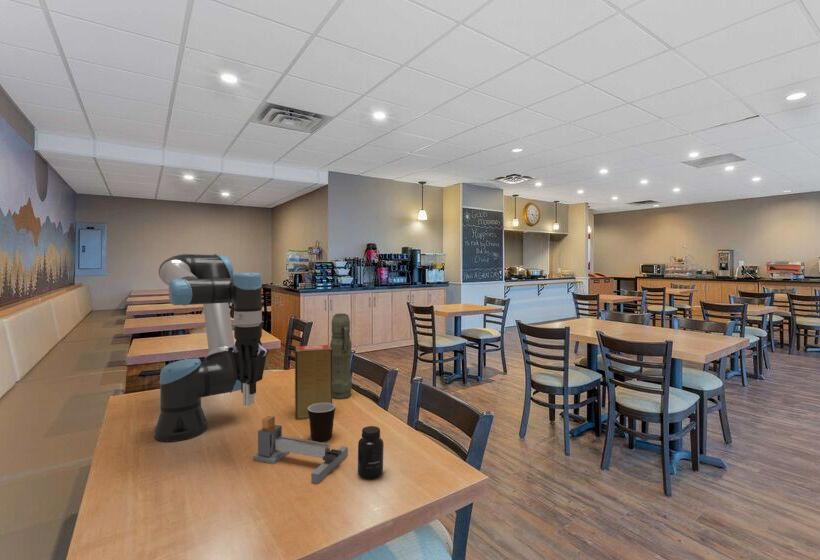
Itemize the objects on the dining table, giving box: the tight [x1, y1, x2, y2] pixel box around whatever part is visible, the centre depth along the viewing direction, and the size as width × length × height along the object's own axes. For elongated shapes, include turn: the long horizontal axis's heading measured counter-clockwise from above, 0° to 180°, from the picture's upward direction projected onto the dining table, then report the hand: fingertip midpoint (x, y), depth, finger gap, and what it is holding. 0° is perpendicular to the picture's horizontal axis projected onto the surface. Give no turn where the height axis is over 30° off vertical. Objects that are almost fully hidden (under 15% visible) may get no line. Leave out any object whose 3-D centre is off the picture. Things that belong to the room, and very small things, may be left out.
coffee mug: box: [308, 403, 336, 443], centre depth 128 cm, size 12×9×10 cm
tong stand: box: [252, 434, 349, 485], centre depth 111 cm, size 24×16×7 cm, turn 71°
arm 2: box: [279, 434, 342, 457], centre depth 111 cm, size 19×2×3 cm, turn 71°
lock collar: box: [257, 415, 283, 457], centre depth 114 cm, size 4×5×10 cm
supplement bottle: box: [357, 425, 385, 480], centre depth 105 cm, size 7×7×12 cm
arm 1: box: [275, 438, 336, 462], centre depth 109 cm, size 19×2×3 cm, turn 72°
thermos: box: [329, 313, 352, 400], centre depth 167 cm, size 9×12×35 cm
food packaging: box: [294, 344, 333, 420], centre depth 147 cm, size 13×9×25 cm
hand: (248, 404), depth 116 cm, fingers closed
